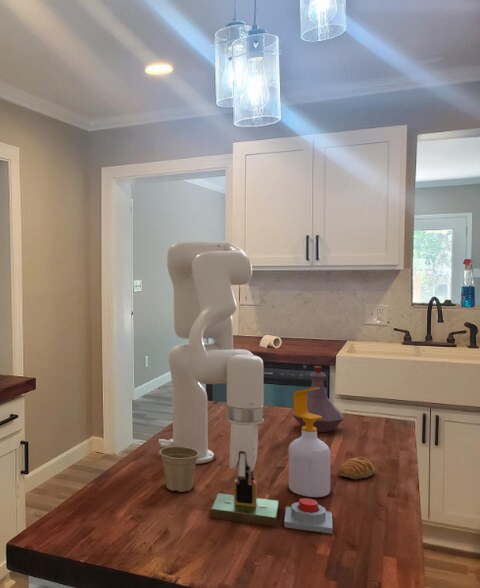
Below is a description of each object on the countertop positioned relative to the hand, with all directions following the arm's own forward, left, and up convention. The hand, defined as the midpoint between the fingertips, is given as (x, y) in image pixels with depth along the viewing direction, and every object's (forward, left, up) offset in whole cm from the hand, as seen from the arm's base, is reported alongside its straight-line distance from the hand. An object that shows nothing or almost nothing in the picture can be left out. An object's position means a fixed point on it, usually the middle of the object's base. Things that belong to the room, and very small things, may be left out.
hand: (245, 498), depth 123 cm
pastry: (+23, +33, -4) cm, 41 cm away
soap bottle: (+12, +18, -4) cm, 22 cm away
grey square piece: (+12, 0, -3) cm, 13 cm away
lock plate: (0, 0, -3) cm, 3 cm away
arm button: (+13, 0, -1) cm, 13 cm away
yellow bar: (0, 0, -1) cm, 1 cm away
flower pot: (-17, +10, -4) cm, 20 cm away
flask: (+14, +75, -4) cm, 76 cm away
